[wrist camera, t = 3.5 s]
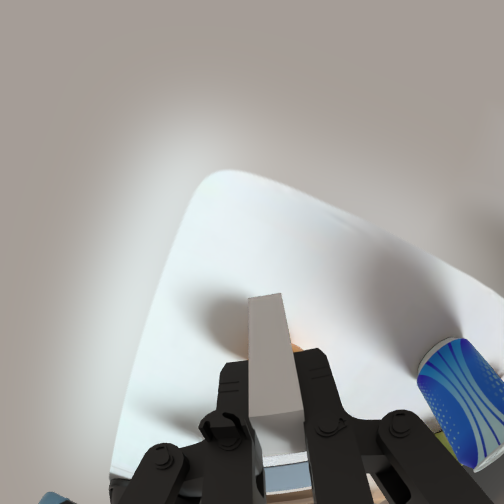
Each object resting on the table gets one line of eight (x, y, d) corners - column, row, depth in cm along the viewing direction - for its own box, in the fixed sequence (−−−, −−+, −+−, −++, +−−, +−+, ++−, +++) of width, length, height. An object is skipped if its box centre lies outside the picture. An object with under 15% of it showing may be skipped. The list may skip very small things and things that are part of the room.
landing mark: (265, 491, 39) (265, 492, 39) (254, 468, 35) (254, 469, 34) (332, 480, 39) (333, 481, 38) (336, 455, 34) (336, 456, 34)
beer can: (403, 366, 27) (462, 474, 12) (458, 319, 25) (536, 411, 10) (422, 391, 29) (469, 480, 14) (469, 352, 27) (528, 431, 12)
